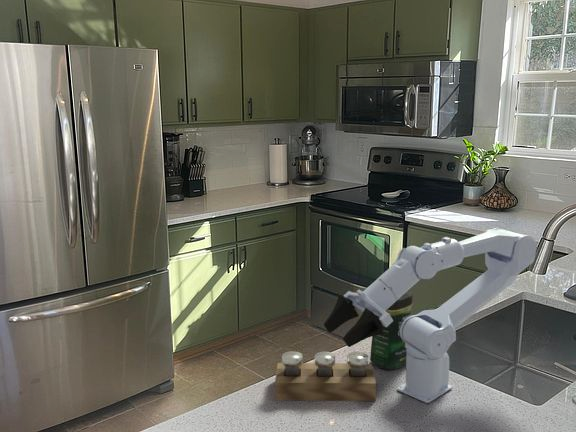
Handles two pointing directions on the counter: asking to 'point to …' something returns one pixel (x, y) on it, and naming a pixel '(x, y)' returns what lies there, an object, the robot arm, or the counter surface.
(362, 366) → the knob
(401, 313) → the coffee jar
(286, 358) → the knob
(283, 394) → the block
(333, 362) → the middle knob
